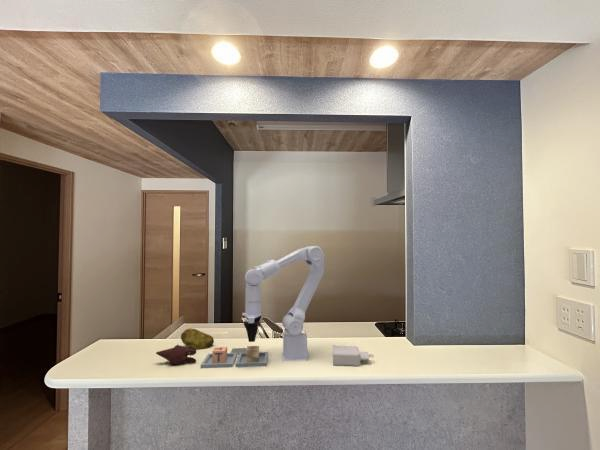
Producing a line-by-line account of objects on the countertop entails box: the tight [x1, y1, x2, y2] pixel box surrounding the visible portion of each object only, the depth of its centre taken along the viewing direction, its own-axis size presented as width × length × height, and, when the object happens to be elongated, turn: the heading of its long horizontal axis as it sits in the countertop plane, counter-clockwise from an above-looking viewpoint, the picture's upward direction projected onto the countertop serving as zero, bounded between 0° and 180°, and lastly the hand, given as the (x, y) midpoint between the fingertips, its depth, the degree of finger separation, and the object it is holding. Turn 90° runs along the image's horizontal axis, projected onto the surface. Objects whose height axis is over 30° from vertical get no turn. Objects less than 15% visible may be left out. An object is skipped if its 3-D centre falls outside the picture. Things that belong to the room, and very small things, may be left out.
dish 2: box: [234, 351, 269, 368], centre depth 106 cm, size 11×11×2 cm
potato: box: [180, 328, 215, 350], centre depth 122 cm, size 8×13×8 cm, turn 83°
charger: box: [332, 344, 375, 367], centre depth 106 cm, size 5×9×15 cm
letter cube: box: [211, 346, 228, 363], centre depth 105 cm, size 4×5×5 cm
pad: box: [230, 347, 247, 356], centre depth 116 cm, size 7×7×1 cm
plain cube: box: [246, 345, 260, 362], centre depth 106 cm, size 4×4×4 cm
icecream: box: [155, 344, 197, 366], centre depth 105 cm, size 7×7×15 cm
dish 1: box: [200, 352, 238, 369], centre depth 105 cm, size 11×11×2 cm
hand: (252, 338), depth 107 cm, fingers open, 7 cm apart
